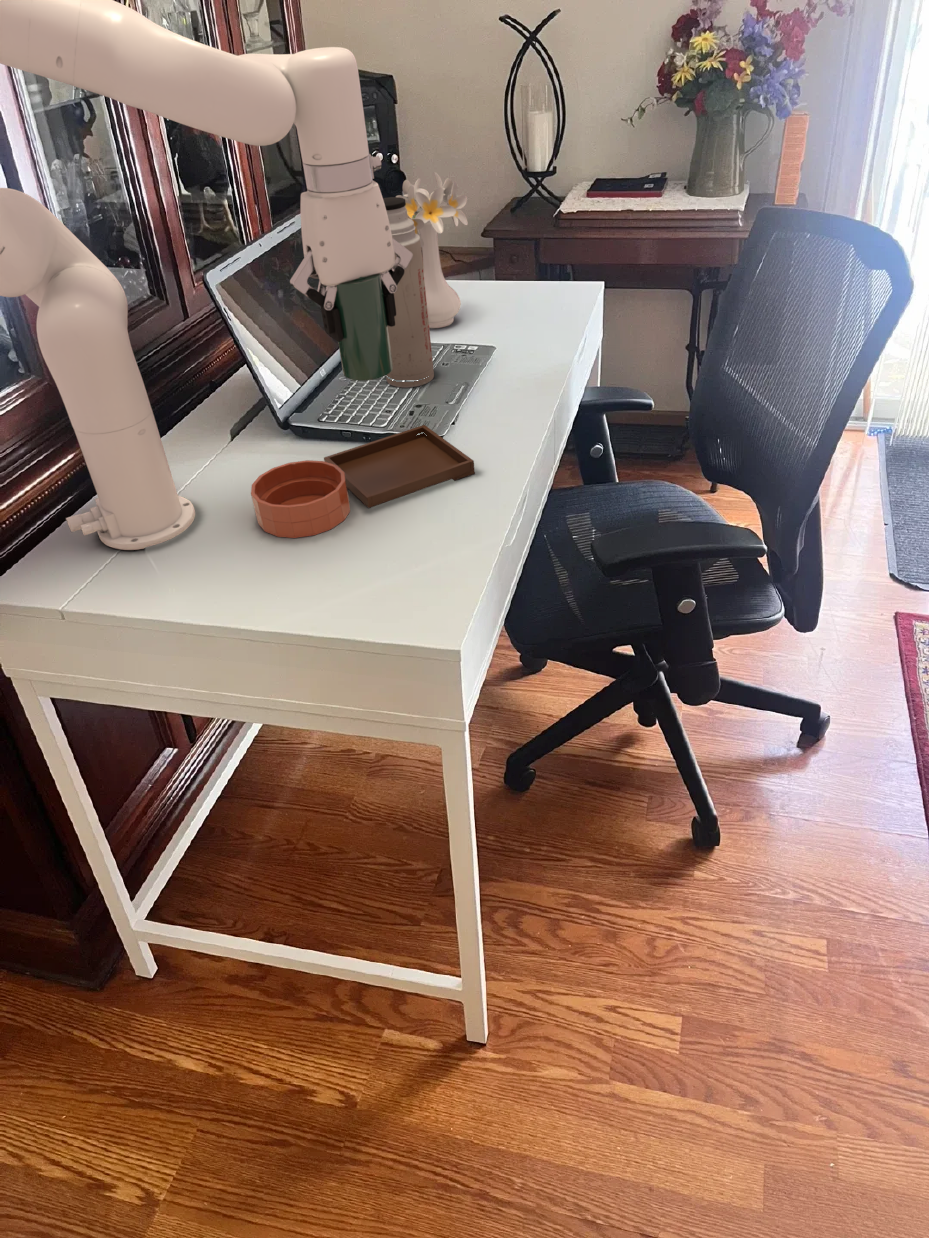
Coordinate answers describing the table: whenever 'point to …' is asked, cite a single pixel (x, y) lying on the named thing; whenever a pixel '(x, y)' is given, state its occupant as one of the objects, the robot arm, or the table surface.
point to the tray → (400, 465)
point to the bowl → (300, 498)
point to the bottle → (363, 329)
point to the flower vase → (435, 243)
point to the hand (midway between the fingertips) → (362, 329)
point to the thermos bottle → (409, 306)
